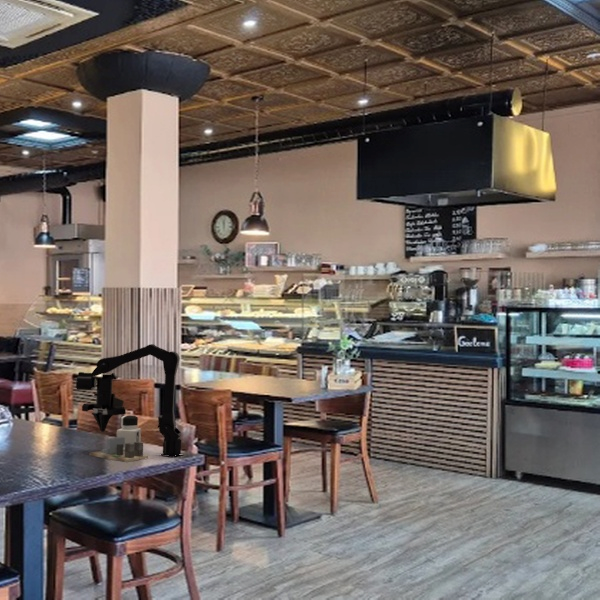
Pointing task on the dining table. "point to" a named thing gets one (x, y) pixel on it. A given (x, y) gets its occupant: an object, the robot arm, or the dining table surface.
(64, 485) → the dining table surface
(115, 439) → the grey rectangular block
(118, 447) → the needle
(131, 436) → the container
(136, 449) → the gauge board
